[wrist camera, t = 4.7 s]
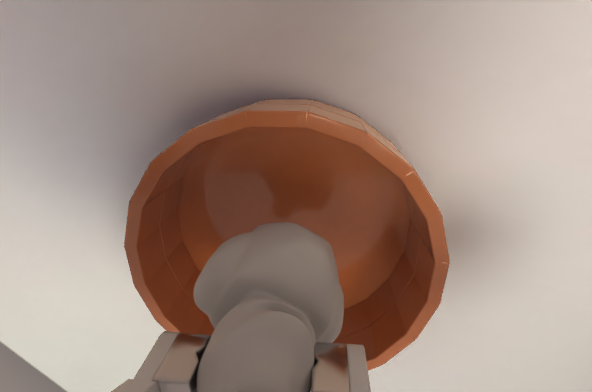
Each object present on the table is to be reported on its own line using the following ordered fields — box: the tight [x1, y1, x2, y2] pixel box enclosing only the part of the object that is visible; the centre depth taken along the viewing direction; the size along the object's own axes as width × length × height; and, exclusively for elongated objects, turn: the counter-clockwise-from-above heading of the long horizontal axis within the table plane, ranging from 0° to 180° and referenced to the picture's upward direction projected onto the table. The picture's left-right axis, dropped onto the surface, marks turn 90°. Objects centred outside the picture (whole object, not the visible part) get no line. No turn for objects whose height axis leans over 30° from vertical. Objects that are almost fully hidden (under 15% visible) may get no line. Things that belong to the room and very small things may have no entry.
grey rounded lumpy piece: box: [194, 222, 344, 392], centre depth 10 cm, size 5×7×8 cm
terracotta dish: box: [124, 99, 449, 370], centre depth 16 cm, size 14×14×4 cm
